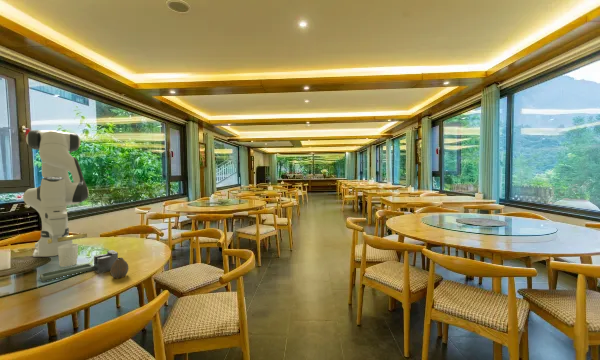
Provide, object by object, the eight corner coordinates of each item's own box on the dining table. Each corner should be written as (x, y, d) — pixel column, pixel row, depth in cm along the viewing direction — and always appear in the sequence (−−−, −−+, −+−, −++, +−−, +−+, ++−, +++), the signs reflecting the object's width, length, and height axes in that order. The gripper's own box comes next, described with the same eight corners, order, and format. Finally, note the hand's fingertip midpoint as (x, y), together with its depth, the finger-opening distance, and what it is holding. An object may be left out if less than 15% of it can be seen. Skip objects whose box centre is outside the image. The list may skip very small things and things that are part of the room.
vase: (131, 275, 125) (131, 256, 124) (117, 280, 118) (117, 261, 118) (121, 272, 127) (121, 255, 127) (106, 278, 120) (106, 259, 120)
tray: (39, 278, 119) (39, 273, 119) (89, 267, 133) (89, 263, 133) (42, 282, 115) (42, 277, 115) (93, 270, 129) (93, 266, 129)
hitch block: (93, 269, 130) (93, 253, 130) (112, 265, 136) (112, 250, 136) (98, 273, 126) (98, 256, 125) (117, 268, 132) (117, 252, 132)
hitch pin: (48, 244, 118) (48, 239, 118) (47, 243, 119) (47, 239, 119) (87, 237, 129) (87, 233, 129) (85, 236, 130) (85, 233, 130)
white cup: (66, 268, 131) (66, 248, 131) (53, 266, 133) (53, 247, 133) (82, 262, 139) (82, 244, 139) (70, 261, 141) (70, 243, 140)
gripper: (39, 210, 123) (39, 239, 124) (49, 216, 111) (49, 248, 111) (57, 208, 128) (57, 236, 129) (68, 214, 116) (68, 245, 116)
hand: (53, 242), depth 120 cm, fingers closed on hitch pin, 2 cm apart
